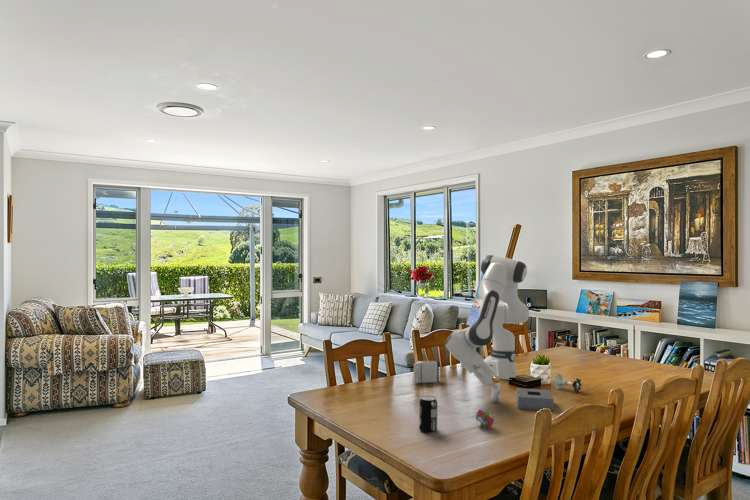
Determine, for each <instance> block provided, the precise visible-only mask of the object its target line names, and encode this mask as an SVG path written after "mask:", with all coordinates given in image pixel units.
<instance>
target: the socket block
mask: <svg viewBox="0 0 750 500" xmlns="http://www.w3.org/2000/svg"><path fill="white" fill-rule="evenodd" d="M515 401H516V406H517V409H518V410H528V409H531V411H541V410H540V409H543V408H549V409H550V410H551V411H550V412H554V398H553V396H552V393H551V391H550V389H540V388H539V389H537V388H536V389H535V388H524V387H522V388H521V387H520V388H519V387H516V388H515ZM534 409H535V410H534Z"/></svg>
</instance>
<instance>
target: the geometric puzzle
mask: <svg viewBox="0 0 750 500" xmlns="http://www.w3.org/2000/svg"><path fill="white" fill-rule="evenodd" d="M491 411H492V410H490V409H489V410H488V411H485V412H484V410H483V409H479V410H477V411H476V413H475V420H476V421H475V422H476V424H477V427H478V429H480V430H481V429H483V427H486V428H487V427H488V428H487V429H488V430H491V429H492V427H493V424H494V422H495V419H494V417H491V416H490V412H491ZM478 422H479V423H480V425H478Z"/></svg>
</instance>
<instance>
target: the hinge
mask: <svg viewBox="0 0 750 500" xmlns="http://www.w3.org/2000/svg"><path fill="white" fill-rule="evenodd" d="M439 371H440V362H439V361H437V360H422V361H421V360H420V361H419V360H417V361H416V363H414V362H413V385H417V384H421V383H423V384H424V383H439V382H440V379H439V378H440V372H439Z"/></svg>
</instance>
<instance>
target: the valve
mask: <svg viewBox="0 0 750 500" xmlns="http://www.w3.org/2000/svg"><path fill="white" fill-rule="evenodd" d="M581 382H582V380H581V379H580V378H577V377H576V379H575V380H574V381H573V382H571V381H568V380H567V379H563V374H559V373H554V380H553V383H554V389H556V390H562V389H563V387H567V386H569V387H573V392H575V393H577V394H578V393H579V392H580V391H581V390H582V388H581V387H582V386H583V385H582V383H581Z"/></svg>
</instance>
